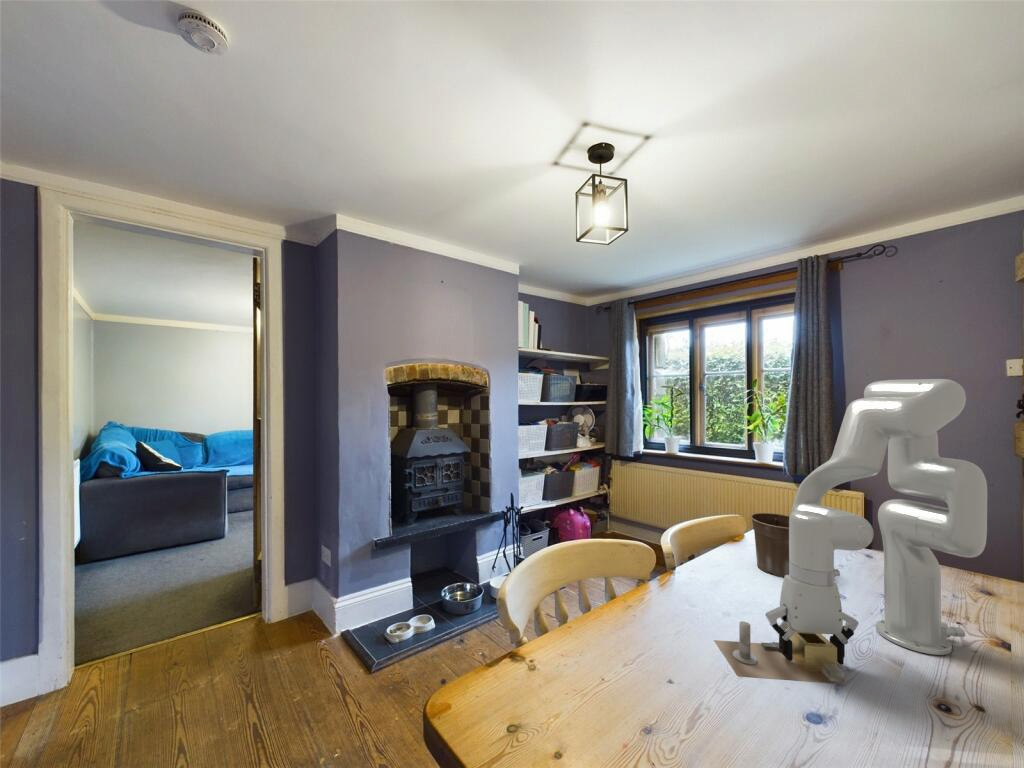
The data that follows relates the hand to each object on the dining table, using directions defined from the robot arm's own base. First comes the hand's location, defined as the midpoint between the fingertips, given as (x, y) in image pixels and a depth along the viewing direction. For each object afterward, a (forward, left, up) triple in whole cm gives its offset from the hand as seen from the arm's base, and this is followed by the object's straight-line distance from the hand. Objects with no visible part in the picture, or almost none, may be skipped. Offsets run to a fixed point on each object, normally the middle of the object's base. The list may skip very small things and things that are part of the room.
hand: (811, 658), depth 86 cm
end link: (0, 0, -1) cm, 1 cm away
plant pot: (-20, -51, -2) cm, 55 cm away
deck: (+7, 0, -2) cm, 7 cm away
